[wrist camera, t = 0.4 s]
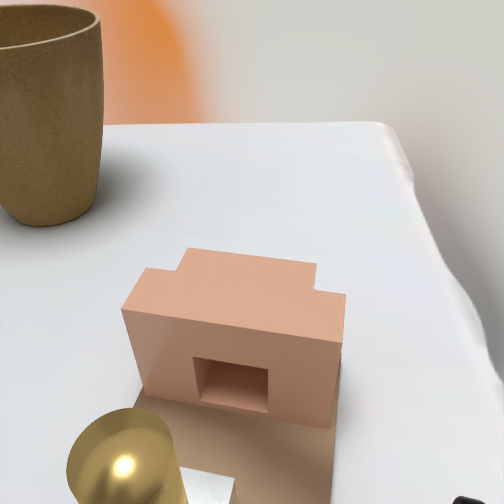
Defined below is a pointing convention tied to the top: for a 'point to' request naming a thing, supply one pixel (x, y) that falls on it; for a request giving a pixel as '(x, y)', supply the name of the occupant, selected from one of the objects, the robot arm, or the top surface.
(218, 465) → the walnut board
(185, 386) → the terracotta socket
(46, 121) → the plant pot
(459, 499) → the robot arm
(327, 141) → the top surface
